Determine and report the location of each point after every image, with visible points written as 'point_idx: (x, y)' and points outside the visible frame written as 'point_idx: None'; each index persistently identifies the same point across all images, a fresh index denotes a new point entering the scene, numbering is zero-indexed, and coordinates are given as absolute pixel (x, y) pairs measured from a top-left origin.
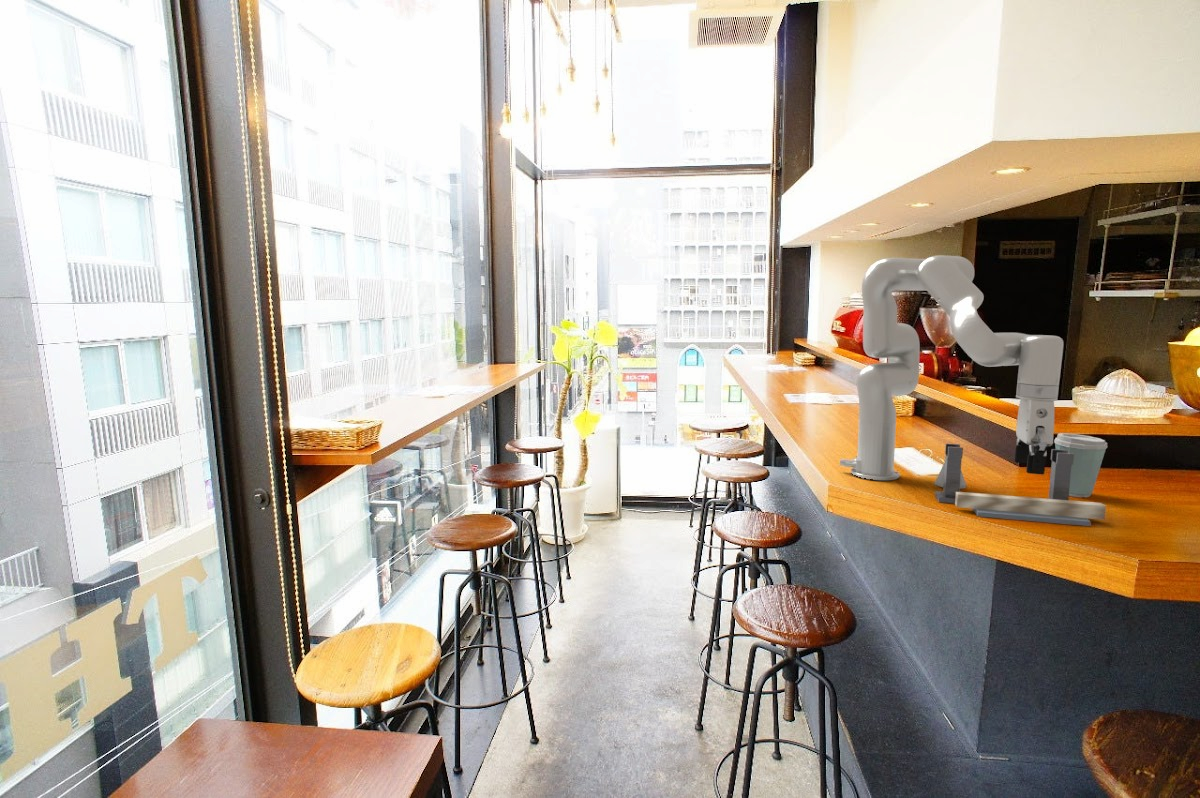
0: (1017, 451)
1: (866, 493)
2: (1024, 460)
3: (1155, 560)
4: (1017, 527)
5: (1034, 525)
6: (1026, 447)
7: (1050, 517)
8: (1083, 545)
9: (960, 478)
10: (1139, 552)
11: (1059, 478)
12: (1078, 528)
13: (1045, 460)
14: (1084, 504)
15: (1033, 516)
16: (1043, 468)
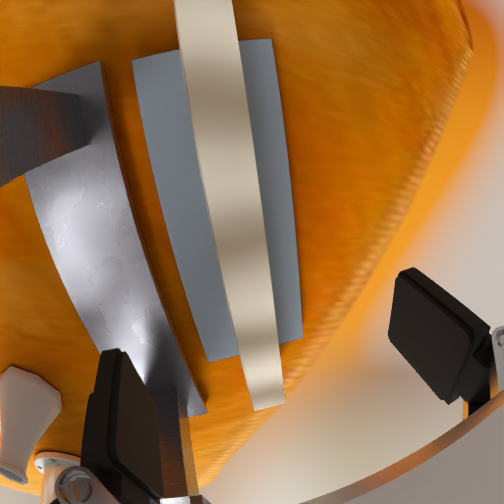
0: (160, 465)
1: (215, 469)
2: (138, 388)
3: (462, 20)
4: (362, 244)
5: (329, 203)
6: (136, 473)
7: (276, 157)
8: (440, 118)
9: (27, 398)
10: (436, 20)
11: (35, 141)
12: (308, 82)
13: (469, 311)
14: (237, 38)
15: (288, 208)
16: (432, 288)
